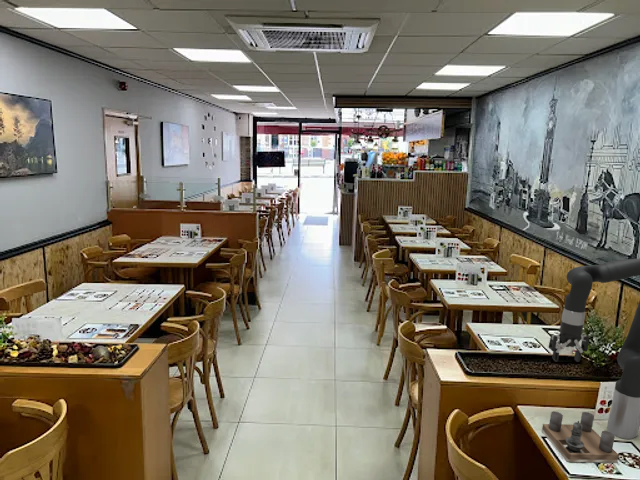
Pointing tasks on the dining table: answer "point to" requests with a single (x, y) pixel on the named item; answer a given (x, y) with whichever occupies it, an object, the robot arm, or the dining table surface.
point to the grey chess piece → (575, 439)
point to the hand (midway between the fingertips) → (566, 360)
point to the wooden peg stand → (593, 443)
